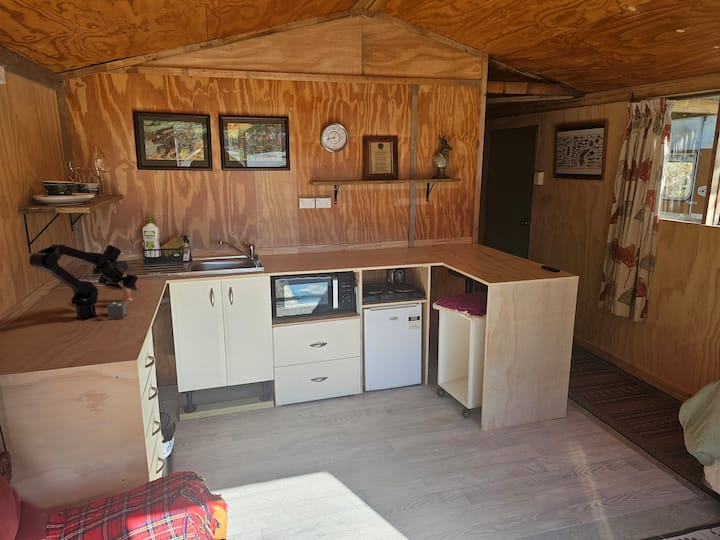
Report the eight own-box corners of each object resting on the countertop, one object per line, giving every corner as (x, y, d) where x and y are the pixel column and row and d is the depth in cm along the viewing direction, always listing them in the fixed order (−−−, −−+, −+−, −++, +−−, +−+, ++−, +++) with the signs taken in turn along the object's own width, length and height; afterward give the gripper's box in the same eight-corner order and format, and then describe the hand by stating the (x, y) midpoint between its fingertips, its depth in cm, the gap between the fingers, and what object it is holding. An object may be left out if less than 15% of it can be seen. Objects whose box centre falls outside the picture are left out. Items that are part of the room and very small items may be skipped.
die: (123, 319, 218) (122, 305, 216) (108, 319, 216) (107, 305, 215) (127, 315, 223) (125, 301, 222) (112, 315, 222) (111, 302, 221)
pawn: (125, 301, 239) (123, 279, 236) (121, 300, 241) (119, 277, 239) (133, 300, 242) (131, 277, 240) (128, 298, 244) (126, 276, 242)
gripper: (133, 258, 230) (152, 276, 243) (101, 255, 236) (121, 273, 249) (121, 278, 224) (141, 296, 237) (88, 275, 230) (110, 292, 243)
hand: (128, 289), depth 242 cm, fingers open, 9 cm apart
